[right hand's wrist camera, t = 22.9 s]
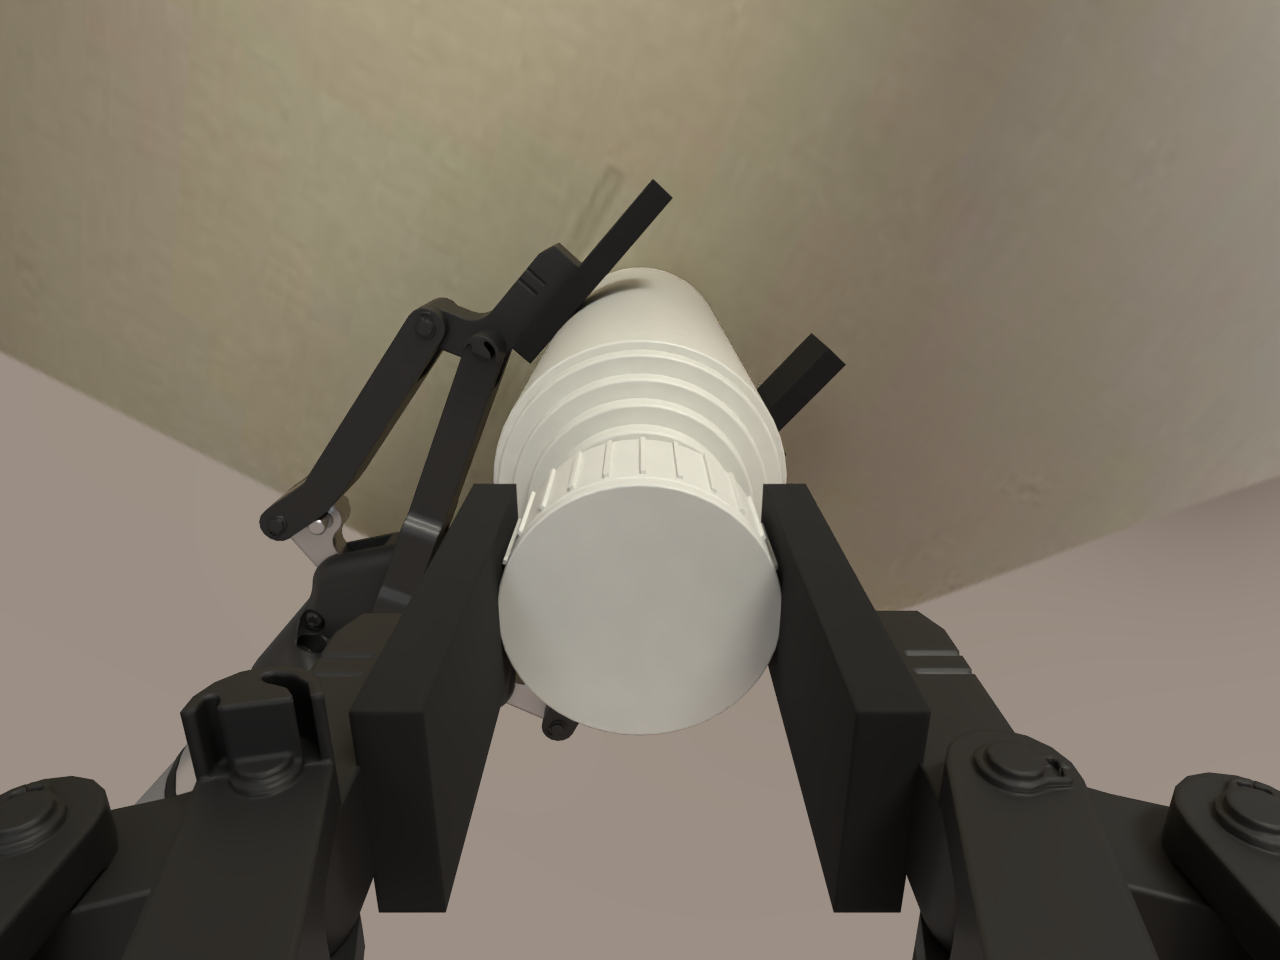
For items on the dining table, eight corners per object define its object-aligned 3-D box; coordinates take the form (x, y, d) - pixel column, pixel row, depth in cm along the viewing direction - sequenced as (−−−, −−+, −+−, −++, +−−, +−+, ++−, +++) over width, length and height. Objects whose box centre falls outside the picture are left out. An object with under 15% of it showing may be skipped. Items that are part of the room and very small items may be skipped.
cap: (661, 701, 16) (665, 783, 14) (466, 575, 15) (436, 643, 13) (816, 533, 14) (848, 593, 12) (613, 382, 13) (608, 420, 11)
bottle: (741, 397, 33) (884, 694, 14) (594, 448, 34) (534, 799, 15) (689, 242, 31) (772, 338, 12) (534, 301, 32) (369, 485, 12)
